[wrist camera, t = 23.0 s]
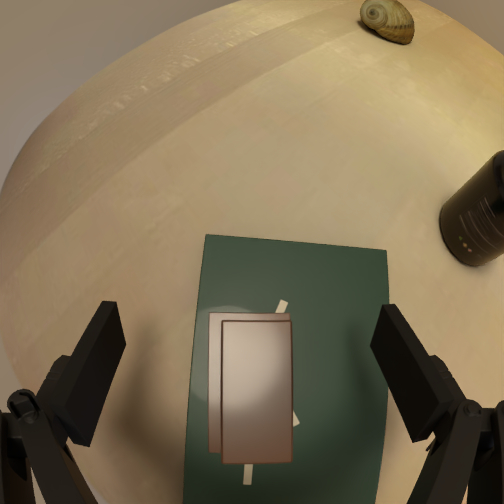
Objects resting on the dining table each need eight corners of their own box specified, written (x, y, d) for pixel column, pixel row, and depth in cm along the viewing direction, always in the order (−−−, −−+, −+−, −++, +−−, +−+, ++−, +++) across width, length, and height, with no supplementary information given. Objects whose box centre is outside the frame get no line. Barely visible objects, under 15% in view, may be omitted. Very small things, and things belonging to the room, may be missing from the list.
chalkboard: (184, 513, 16) (182, 520, 15) (206, 240, 23) (205, 233, 22) (366, 511, 16) (372, 517, 15) (380, 255, 23) (386, 249, 22)
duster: (284, 442, 17) (317, 488, 9) (211, 442, 17) (195, 492, 9) (283, 318, 20) (316, 286, 12) (211, 318, 20) (196, 285, 12)
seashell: (387, 44, 41) (376, 1, 36) (426, 42, 35) (414, -4, 31) (360, 48, 36) (346, -2, 32) (405, 44, 31) (390, -10, 27)
